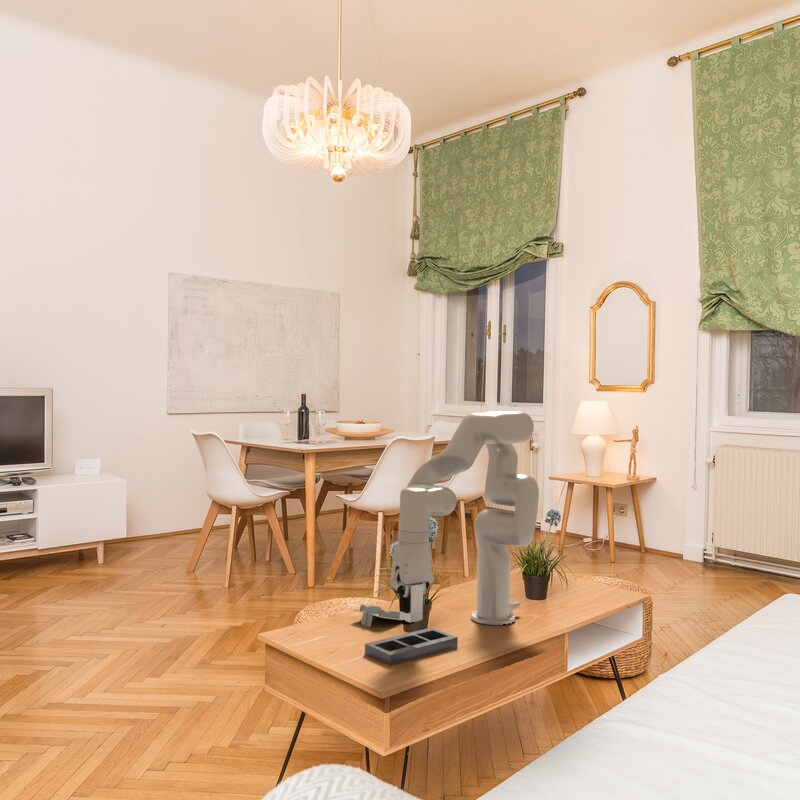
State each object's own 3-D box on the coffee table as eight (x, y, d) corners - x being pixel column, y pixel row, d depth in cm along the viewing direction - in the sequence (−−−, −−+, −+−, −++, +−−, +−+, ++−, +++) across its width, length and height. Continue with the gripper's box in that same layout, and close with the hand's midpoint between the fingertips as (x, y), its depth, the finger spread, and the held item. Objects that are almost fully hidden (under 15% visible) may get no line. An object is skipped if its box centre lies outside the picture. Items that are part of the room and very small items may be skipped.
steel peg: (412, 616, 183) (413, 580, 183) (422, 620, 180) (423, 583, 180) (399, 618, 181) (401, 582, 181) (410, 622, 178) (411, 585, 178)
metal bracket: (387, 611, 195) (347, 601, 205) (382, 633, 194) (343, 621, 204) (418, 616, 206) (379, 605, 215) (414, 636, 204) (375, 625, 214)
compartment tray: (431, 636, 192) (431, 627, 192) (457, 647, 184) (457, 637, 184) (364, 653, 178) (365, 643, 178) (390, 665, 170) (390, 655, 170)
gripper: (428, 532, 189) (426, 602, 189) (378, 537, 178) (375, 612, 178) (448, 536, 183) (446, 609, 183) (397, 542, 173) (395, 619, 172)
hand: (411, 610), depth 180 cm, fingers closed on steel peg, 4 cm apart
